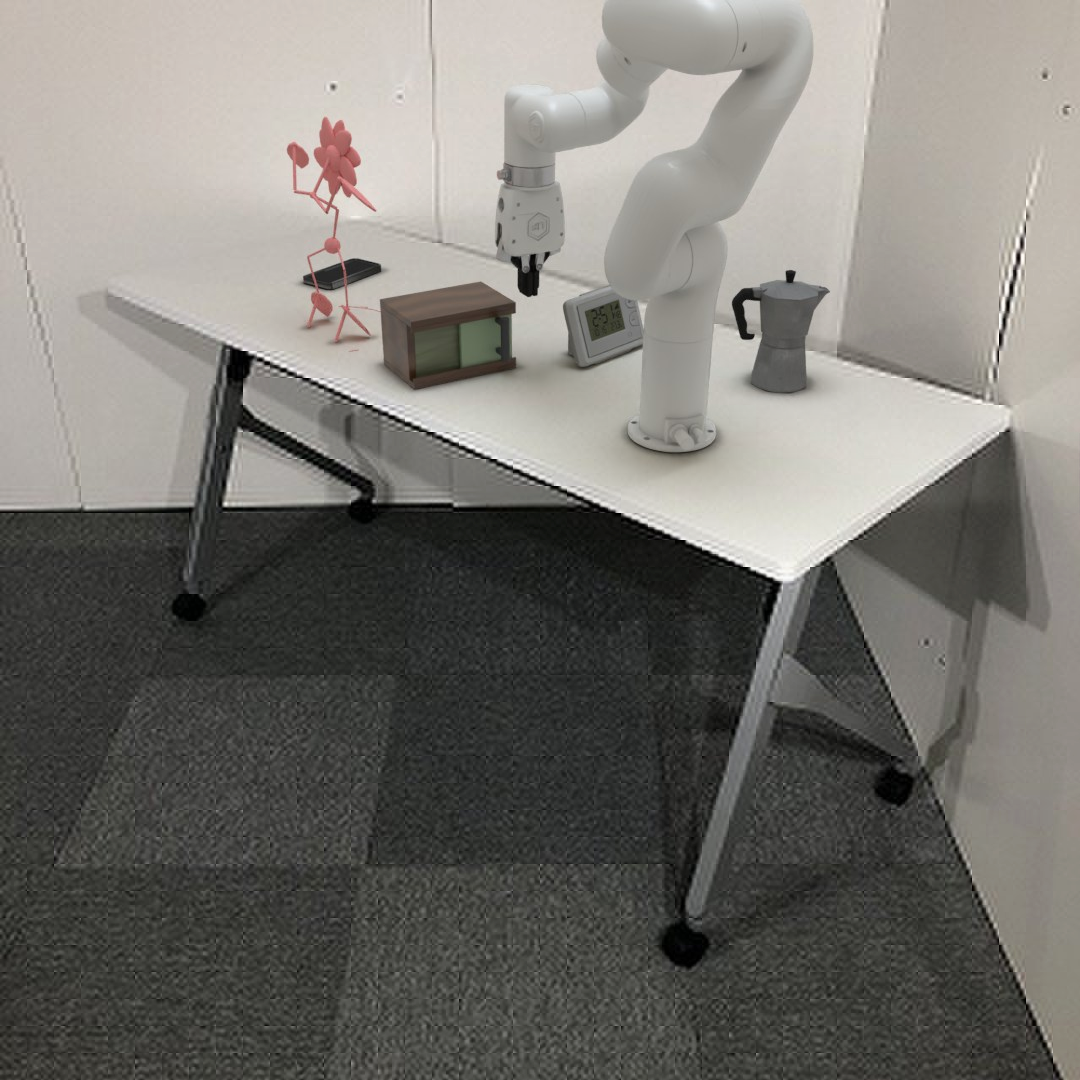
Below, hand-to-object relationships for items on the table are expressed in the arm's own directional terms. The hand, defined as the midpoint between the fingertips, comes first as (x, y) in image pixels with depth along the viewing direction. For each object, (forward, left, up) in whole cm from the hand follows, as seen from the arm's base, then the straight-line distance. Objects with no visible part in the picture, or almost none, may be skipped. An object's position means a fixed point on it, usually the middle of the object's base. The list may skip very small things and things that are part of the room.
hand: (528, 293), depth 186 cm
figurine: (+26, +24, -13) cm, 38 cm away
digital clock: (+3, -14, -13) cm, 19 cm away
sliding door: (-1, +6, -11) cm, 13 cm away
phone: (+54, +23, -13) cm, 60 cm away
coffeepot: (-15, -36, -13) cm, 41 cm away
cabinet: (+5, +12, -13) cm, 18 cm away
